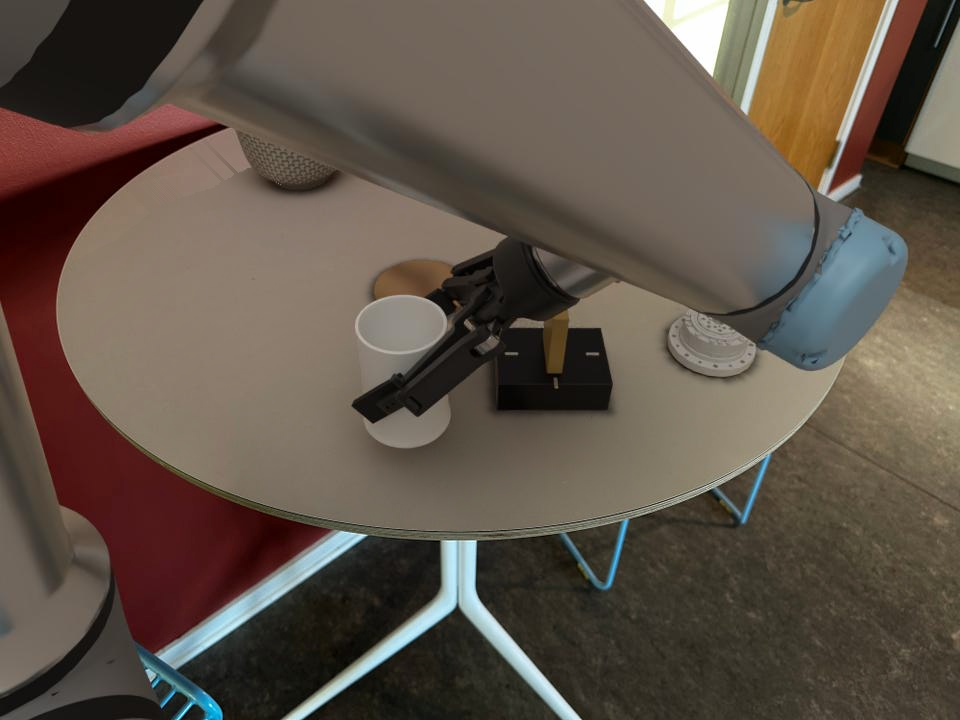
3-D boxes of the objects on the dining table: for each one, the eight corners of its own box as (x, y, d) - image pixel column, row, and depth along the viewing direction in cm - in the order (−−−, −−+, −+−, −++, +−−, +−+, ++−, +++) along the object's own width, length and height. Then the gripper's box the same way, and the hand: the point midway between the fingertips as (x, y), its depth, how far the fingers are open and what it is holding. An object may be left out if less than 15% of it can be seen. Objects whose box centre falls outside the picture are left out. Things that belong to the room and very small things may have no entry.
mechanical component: (668, 373, 81) (757, 384, 80) (676, 344, 78) (769, 355, 77) (665, 317, 88) (747, 327, 87) (672, 289, 85) (758, 298, 84)
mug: (389, 358, 76) (381, 266, 68) (467, 371, 75) (468, 279, 67) (351, 440, 68) (337, 346, 60) (438, 456, 67) (435, 363, 58)
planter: (348, 207, 105) (335, 102, 94) (232, 204, 105) (205, 99, 94) (364, 152, 118) (354, 53, 107) (260, 149, 118) (239, 50, 107)
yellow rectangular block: (562, 373, 75) (569, 317, 70) (546, 373, 75) (553, 317, 70) (556, 335, 79) (563, 280, 74) (542, 335, 79) (548, 280, 74)
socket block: (497, 414, 76) (498, 387, 73) (494, 349, 83) (495, 322, 81) (608, 414, 76) (614, 387, 74) (595, 349, 84) (600, 323, 81)
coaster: (421, 334, 85) (421, 331, 85) (354, 292, 91) (354, 289, 90) (487, 288, 92) (487, 285, 91) (420, 252, 97) (420, 249, 97)
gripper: (567, 394, 49) (372, 486, 62) (602, 215, 66) (443, 316, 79) (495, 323, 46) (306, 434, 59) (551, 155, 63) (395, 270, 76)
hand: (384, 367), depth 69 cm, fingers closed on mug, 11 cm apart
